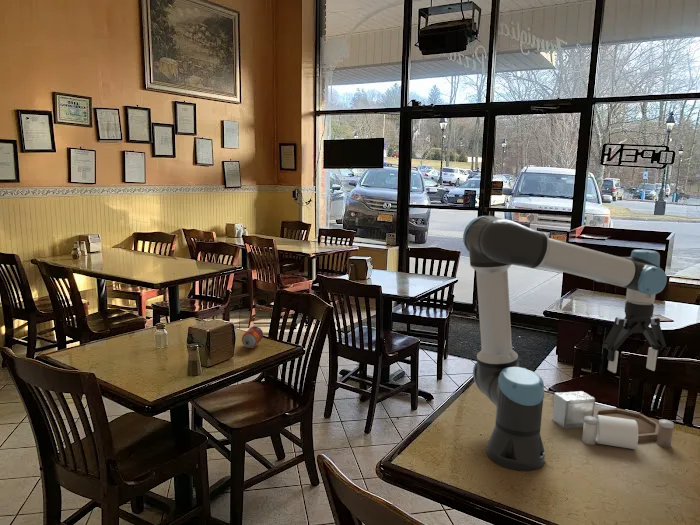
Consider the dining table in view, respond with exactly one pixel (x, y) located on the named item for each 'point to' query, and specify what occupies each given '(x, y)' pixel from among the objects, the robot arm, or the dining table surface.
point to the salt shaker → (589, 430)
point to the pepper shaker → (665, 433)
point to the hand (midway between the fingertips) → (631, 370)
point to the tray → (645, 424)
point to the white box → (572, 408)
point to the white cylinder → (617, 432)
